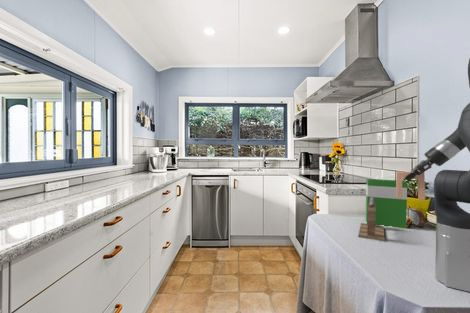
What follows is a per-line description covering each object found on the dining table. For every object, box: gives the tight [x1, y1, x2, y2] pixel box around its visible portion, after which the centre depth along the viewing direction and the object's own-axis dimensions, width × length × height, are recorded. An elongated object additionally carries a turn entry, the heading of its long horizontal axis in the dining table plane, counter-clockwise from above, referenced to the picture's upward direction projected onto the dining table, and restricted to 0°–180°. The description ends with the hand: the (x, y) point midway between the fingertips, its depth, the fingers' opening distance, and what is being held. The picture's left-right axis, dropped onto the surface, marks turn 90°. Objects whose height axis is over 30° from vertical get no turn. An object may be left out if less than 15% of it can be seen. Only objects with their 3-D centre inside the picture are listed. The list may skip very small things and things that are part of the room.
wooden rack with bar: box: [357, 197, 385, 242], centre depth 113 cm, size 21×10×16 cm, turn 149°
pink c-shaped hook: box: [395, 171, 426, 201], centre depth 105 cm, size 3×10×12 cm, turn 59°
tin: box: [407, 207, 426, 227], centre depth 128 cm, size 15×3×8 cm, turn 168°
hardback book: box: [365, 178, 408, 230], centre depth 126 cm, size 18×7×24 cm, turn 66°
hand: (405, 179), depth 106 cm, fingers closed on pink c-shaped hook, 3 cm apart
